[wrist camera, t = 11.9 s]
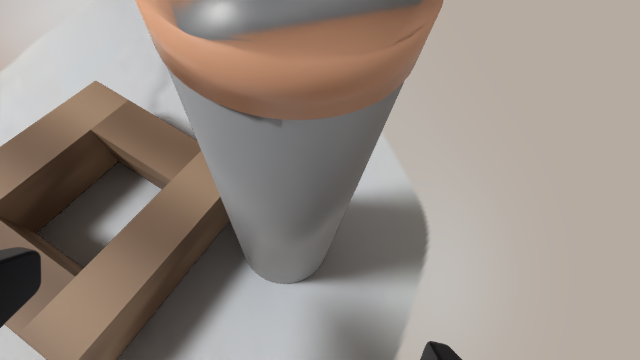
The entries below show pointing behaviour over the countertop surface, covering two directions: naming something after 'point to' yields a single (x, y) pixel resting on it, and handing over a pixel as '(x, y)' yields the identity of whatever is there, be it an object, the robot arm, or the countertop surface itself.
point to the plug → (288, 107)
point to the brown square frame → (128, 246)
